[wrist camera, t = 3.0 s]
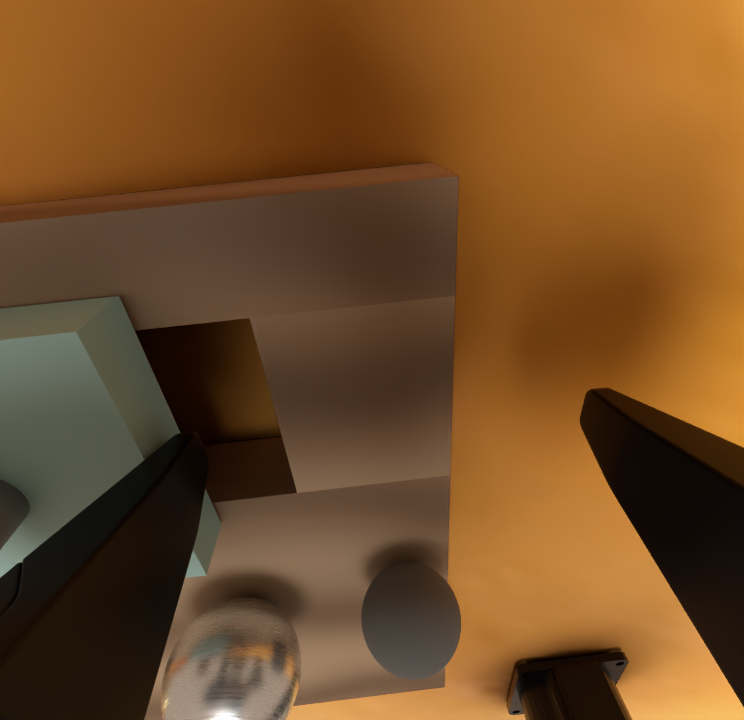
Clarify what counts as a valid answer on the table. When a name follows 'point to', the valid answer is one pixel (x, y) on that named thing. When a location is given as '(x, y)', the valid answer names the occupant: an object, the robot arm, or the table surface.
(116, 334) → the cover
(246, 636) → the steel ball
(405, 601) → the matte grey ball
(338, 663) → the board
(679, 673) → the table surface
